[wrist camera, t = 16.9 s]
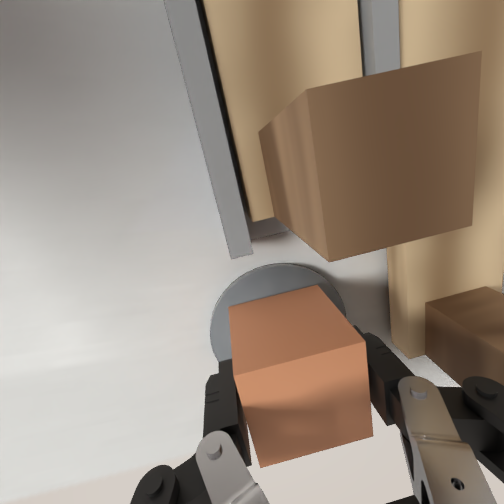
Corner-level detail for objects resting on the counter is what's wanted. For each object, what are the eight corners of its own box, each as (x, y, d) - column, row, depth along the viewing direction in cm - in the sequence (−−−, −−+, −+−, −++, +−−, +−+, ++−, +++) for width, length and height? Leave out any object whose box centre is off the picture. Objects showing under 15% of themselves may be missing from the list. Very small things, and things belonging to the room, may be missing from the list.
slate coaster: (229, 393, 17) (229, 401, 16) (193, 283, 14) (192, 288, 14) (347, 361, 17) (351, 367, 17) (333, 248, 15) (338, 251, 14)
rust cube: (228, 306, 14) (233, 376, 9) (317, 284, 14) (365, 341, 10) (247, 378, 16) (260, 467, 11) (327, 357, 16) (373, 436, 11)
